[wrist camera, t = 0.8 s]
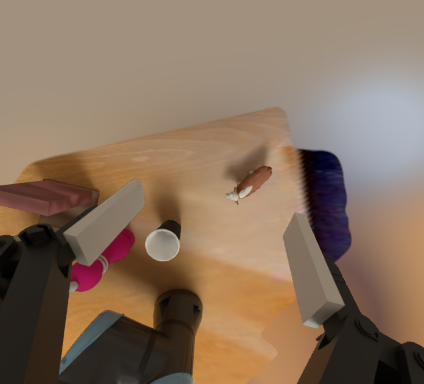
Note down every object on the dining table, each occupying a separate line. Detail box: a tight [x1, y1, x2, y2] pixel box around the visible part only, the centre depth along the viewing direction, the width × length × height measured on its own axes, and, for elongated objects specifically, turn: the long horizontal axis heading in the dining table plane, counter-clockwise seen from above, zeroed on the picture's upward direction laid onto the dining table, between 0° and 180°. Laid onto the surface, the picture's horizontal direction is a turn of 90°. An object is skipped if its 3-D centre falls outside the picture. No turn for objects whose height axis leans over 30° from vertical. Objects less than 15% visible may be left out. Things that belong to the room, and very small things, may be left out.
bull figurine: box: [225, 166, 272, 205], centre depth 43 cm, size 4×13×8 cm, turn 126°
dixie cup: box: [145, 220, 181, 261], centre depth 43 cm, size 8×8×11 cm
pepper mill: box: [69, 229, 135, 292], centre depth 39 cm, size 7×7×20 cm
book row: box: [0, 179, 99, 262], centre depth 41 cm, size 19×14×14 cm
